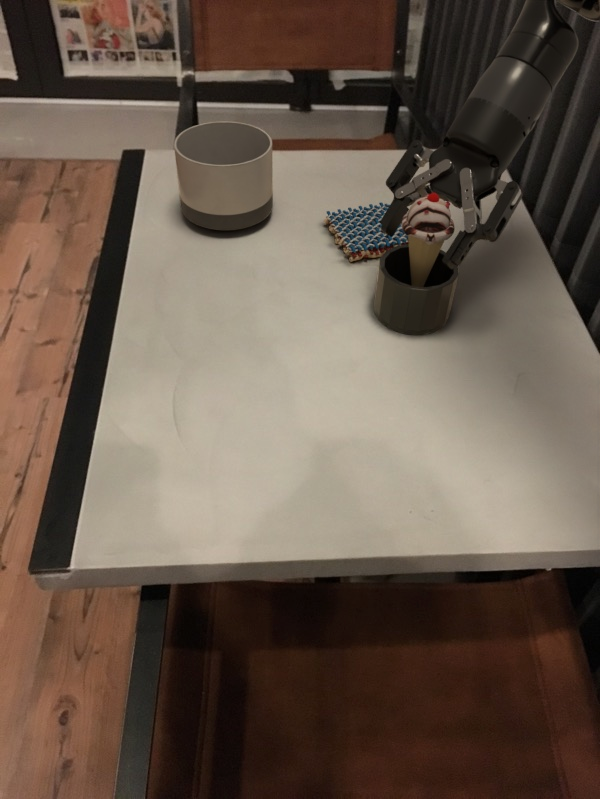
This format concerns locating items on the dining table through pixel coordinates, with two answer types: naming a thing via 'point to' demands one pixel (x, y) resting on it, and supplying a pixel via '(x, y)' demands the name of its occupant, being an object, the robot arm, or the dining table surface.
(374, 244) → the woven mat
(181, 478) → the dining table surface
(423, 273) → the ice cream cone
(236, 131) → the planter
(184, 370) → the dining table surface
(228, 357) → the dining table surface
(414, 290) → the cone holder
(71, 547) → the dining table surface
